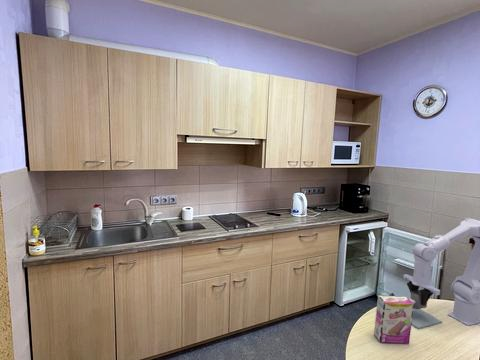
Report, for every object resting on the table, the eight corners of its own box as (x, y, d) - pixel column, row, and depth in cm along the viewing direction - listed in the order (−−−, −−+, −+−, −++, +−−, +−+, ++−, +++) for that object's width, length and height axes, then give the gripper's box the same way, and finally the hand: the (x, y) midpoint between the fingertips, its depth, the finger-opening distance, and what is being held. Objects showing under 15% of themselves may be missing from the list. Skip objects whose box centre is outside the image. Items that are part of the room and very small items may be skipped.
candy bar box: (380, 344, 94) (384, 302, 92) (373, 334, 99) (376, 294, 97) (410, 345, 94) (414, 303, 92) (401, 335, 99) (405, 295, 97)
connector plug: (420, 302, 112) (421, 289, 111) (428, 306, 109) (430, 293, 108) (404, 305, 109) (405, 292, 108) (412, 310, 106) (413, 297, 105)
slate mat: (416, 308, 117) (416, 306, 117) (441, 323, 107) (441, 321, 107) (393, 313, 113) (393, 311, 113) (417, 329, 102) (418, 327, 102)
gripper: (399, 266, 113) (396, 294, 115) (432, 281, 100) (429, 313, 101) (410, 264, 116) (408, 292, 117) (445, 279, 102) (441, 310, 103)
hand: (418, 302), depth 109 cm, fingers closed on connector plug, 4 cm apart
